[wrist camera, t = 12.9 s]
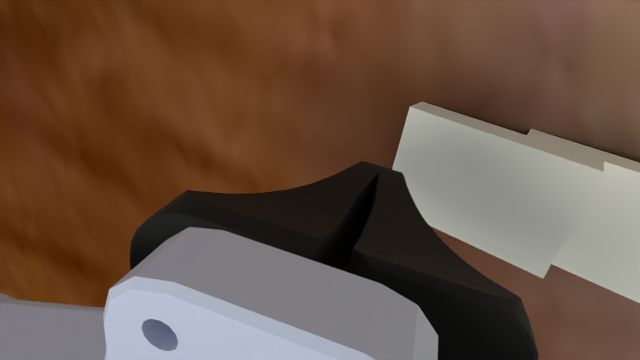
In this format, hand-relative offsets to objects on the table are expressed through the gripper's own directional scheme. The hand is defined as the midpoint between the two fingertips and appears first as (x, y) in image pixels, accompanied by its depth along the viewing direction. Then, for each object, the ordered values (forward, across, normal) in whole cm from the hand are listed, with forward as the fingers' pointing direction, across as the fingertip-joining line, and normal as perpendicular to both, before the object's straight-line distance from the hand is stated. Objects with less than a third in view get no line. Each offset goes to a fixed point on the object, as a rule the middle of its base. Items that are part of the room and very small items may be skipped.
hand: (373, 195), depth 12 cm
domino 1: (+4, 0, 0) cm, 4 cm away
